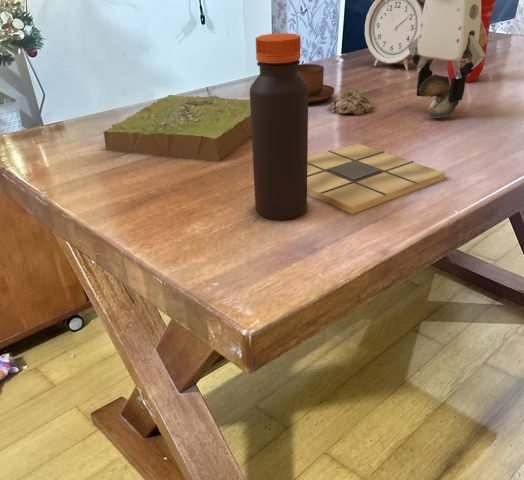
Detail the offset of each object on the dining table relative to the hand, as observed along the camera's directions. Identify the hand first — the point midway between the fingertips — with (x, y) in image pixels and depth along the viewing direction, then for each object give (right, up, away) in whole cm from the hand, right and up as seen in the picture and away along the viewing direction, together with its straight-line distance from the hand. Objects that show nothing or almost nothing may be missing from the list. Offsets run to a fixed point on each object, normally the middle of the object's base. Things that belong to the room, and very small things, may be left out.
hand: (438, 97), depth 101 cm
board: (-20, -22, -22) cm, 37 cm away
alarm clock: (+1, +24, +36) cm, 43 cm away
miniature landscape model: (-46, -8, -2) cm, 46 cm away
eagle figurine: (0, -2, +1) cm, 3 cm away
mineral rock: (-15, +1, +7) cm, 17 cm away
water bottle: (+12, +13, +21) cm, 27 cm away
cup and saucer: (-24, +6, +14) cm, 28 cm away
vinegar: (-31, -29, -30) cm, 52 cm away
